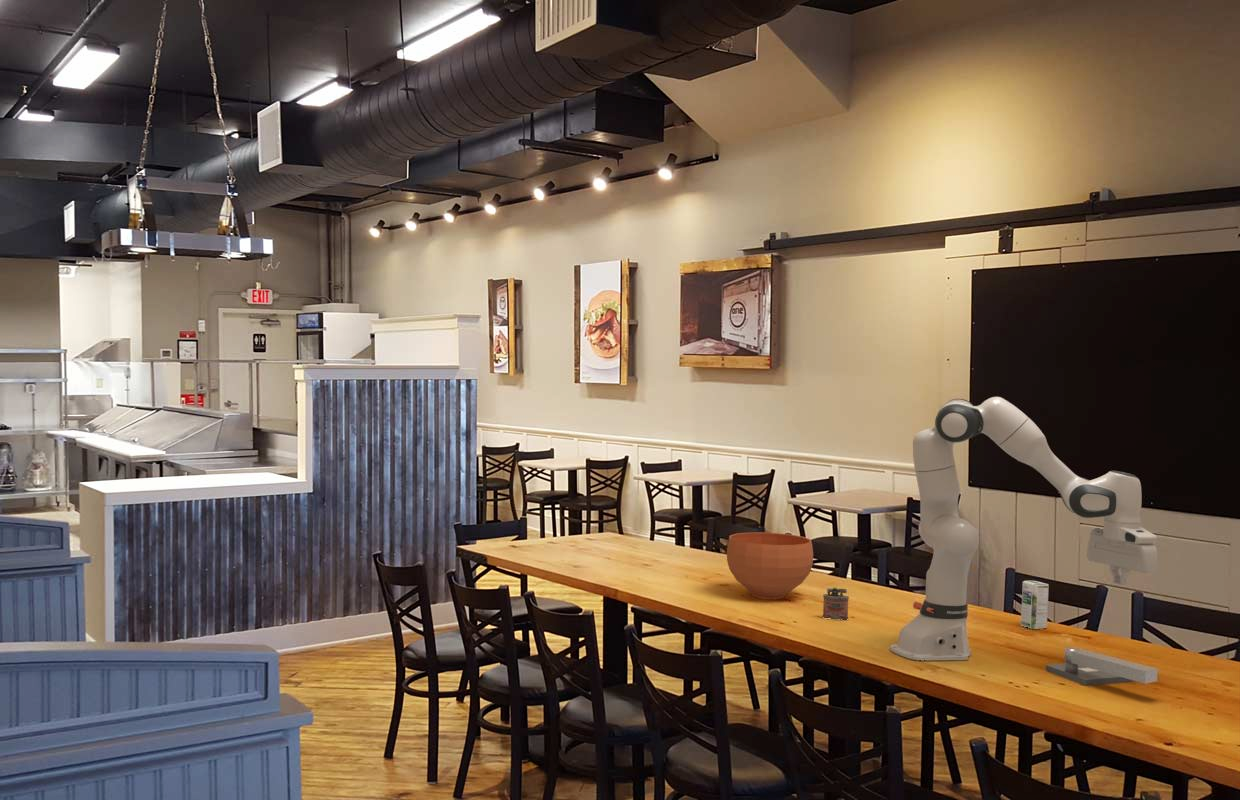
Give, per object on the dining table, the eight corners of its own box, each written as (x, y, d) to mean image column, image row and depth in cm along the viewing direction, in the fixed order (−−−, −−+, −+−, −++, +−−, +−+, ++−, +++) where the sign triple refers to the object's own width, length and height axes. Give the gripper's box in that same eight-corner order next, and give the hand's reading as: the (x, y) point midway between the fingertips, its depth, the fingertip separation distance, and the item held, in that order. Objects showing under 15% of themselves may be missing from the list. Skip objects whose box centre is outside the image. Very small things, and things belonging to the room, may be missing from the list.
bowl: (793, 609, 335) (795, 548, 334) (711, 598, 350) (713, 539, 349) (823, 594, 361) (824, 537, 360) (745, 584, 376) (747, 529, 375)
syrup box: (1019, 626, 320) (1021, 580, 320) (1034, 625, 322) (1036, 580, 322) (1033, 630, 315) (1034, 584, 315) (1047, 629, 317) (1049, 583, 317)
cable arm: (1059, 659, 263) (1060, 648, 263) (1071, 657, 266) (1072, 646, 266) (1145, 683, 243) (1145, 671, 243) (1157, 681, 246) (1157, 668, 246)
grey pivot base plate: (1085, 685, 256) (1086, 669, 256) (1045, 670, 269) (1046, 654, 269) (1157, 679, 264) (1158, 663, 264) (1115, 664, 277) (1115, 649, 277)
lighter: (822, 619, 322) (823, 588, 322) (822, 616, 326) (823, 586, 325) (848, 621, 320) (849, 589, 320) (848, 618, 324) (849, 587, 323)
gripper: (1082, 526, 276) (1080, 576, 277) (1143, 538, 257) (1141, 592, 257) (1100, 526, 278) (1098, 576, 279) (1162, 537, 259) (1160, 591, 259)
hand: (1119, 584), depth 268 cm, fingers closed
